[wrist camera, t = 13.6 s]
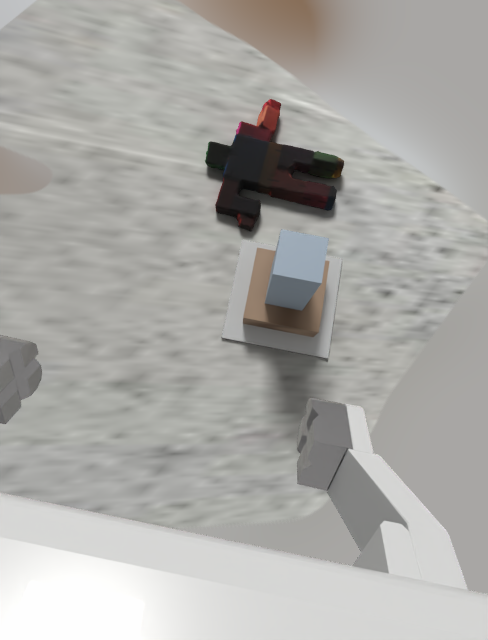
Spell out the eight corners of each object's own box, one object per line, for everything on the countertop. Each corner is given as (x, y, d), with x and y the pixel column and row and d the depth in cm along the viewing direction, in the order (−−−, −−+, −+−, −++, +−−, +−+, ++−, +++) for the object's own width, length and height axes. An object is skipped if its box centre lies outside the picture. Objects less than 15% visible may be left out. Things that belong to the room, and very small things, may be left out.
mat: (221, 337, 40) (221, 337, 40) (242, 240, 43) (242, 239, 43) (327, 358, 40) (328, 358, 40) (341, 259, 43) (342, 258, 42)
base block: (242, 323, 40) (243, 317, 37) (255, 258, 42) (257, 247, 39) (313, 337, 40) (318, 332, 37) (323, 270, 42) (329, 261, 39)
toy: (269, 106, 48) (271, 87, 45) (358, 187, 45) (366, 173, 42) (181, 176, 45) (177, 161, 42) (270, 265, 43) (272, 256, 40)
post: (264, 303, 38) (272, 273, 29) (271, 268, 39) (281, 229, 30) (302, 310, 38) (321, 283, 29) (307, 275, 39) (328, 238, 30)
